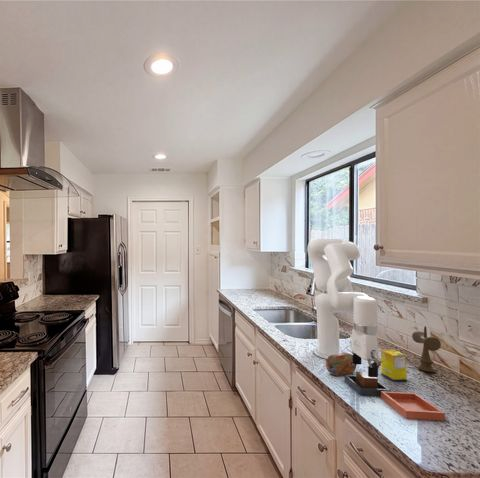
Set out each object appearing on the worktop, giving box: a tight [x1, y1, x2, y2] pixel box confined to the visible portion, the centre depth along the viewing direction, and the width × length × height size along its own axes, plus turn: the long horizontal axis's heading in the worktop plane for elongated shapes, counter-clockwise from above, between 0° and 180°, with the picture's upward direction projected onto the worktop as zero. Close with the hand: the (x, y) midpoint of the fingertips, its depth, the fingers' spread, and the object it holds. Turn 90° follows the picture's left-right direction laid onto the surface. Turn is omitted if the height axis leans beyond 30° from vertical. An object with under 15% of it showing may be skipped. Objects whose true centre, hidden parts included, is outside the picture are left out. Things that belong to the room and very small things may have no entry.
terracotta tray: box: [380, 391, 446, 422], centre depth 92 cm, size 12×12×2 cm
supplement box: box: [380, 349, 408, 382], centre depth 113 cm, size 6×6×11 cm
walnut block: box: [355, 371, 379, 389], centre depth 105 cm, size 5×5×5 cm
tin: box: [325, 352, 358, 377], centre depth 117 cm, size 15×3×8 cm, turn 105°
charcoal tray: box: [343, 374, 392, 397], centre depth 105 cm, size 11×11×2 cm
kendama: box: [411, 325, 442, 373], centre depth 119 cm, size 6×10×20 cm, turn 163°
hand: (364, 370), depth 106 cm, fingers open, 9 cm apart
